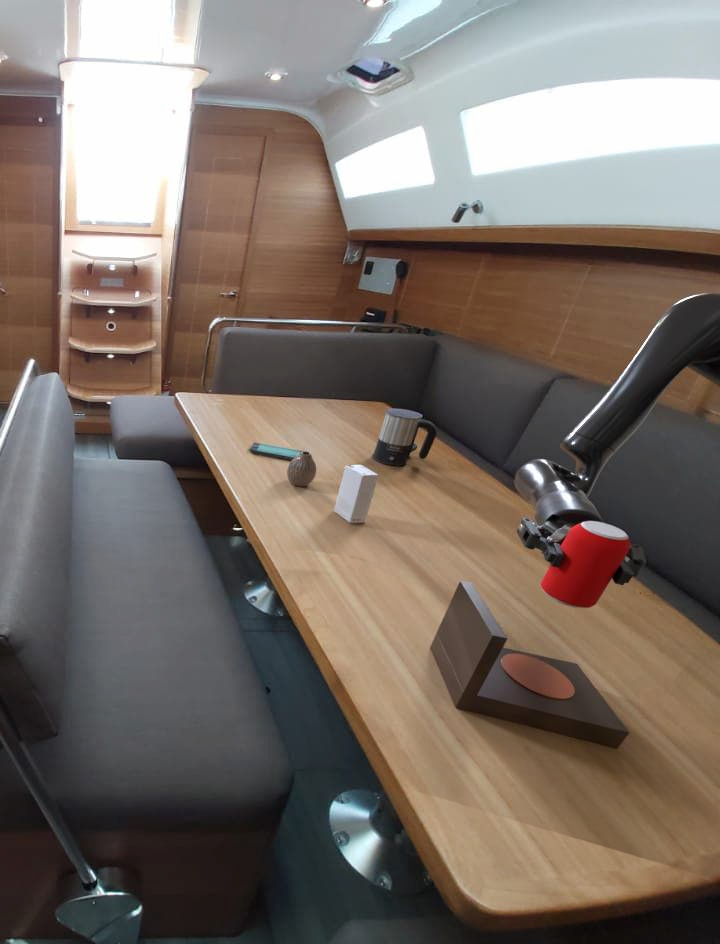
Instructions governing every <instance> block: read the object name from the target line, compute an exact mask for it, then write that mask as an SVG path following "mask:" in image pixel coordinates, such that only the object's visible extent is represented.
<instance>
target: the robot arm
mask: <svg viewBox="0 0 720 944" xmlns="http://www.w3.org/2000/svg"><path fill="white" fill-rule="evenodd" d="M686 367H687V368H688V369H690V370H692V371H693V372H695V373H697V374H698V375H699V376H701V377H703V378H705V379H706V380H708V381H710V382H711V383H713V384H714V385H716V386H717V387H719V388H720V293H719V292H705V293H700V294H694V295H692V296H689V297H685V298H683V299H681V300H679V301H678V302H676V303H674V304H673V305H671V306H670V307H669V308H667V309H666V310H665V311H664V312H663V313H662V315H661V316H660V318H658V321H657V322H656V323H655V325H654V326H653V328H652V329H651V330H650V332H649V334H648V335H647V337H646V339H645V340H644V342H643V343H642V345H641V346H640V348H639V349H638V350H637V352H636V353H635V355H634V356H633V358H632V359H631V360H630V361H629V363H628V364H627V366H626V367H625V368H624V370H623V371H622V372H621V373H620V375H619V376H618V377H617V378H616V380H615V381H614V382H613V383H612V385H611V386H610V387H609V388H608V389H607V390H606V391H605V393H604V394H603V395H602V396H601V397H600V398H599V399H598V401H596V403H595V404H594V405H593V406H592V407H591V408H590V409H589V410H588V411H587V412H586V414H585V415H583V417H582V418H581V419H580V420H579V421H578V422H577V423H576V424H575V425H574V426H573V427H572V428H571V429H570V431H569V432H568V433H567V434H566V435H565V436H564V437H563V438H562V440H561V441H560V443H559V447H560V449H561V450H562V452H564V453H565V454H566V455H568V456H569V457H571V458H572V459H573V460H574V462H575V468H574V471H572V470H569V469H568V468H566V467H564V466H562V465H559V464H558V463H556V462H554V461H551V460H549V459H545V458H536V459H532V460H531V459H530V460H529V461H526V462H525V463H523V464H522V465H521V466H520V467H519V468H518V469H517V471H516V473H515V475H514V480H513V481H514V486H515V489H516V490H517V492H518V493H519V494H520V495H521V496H522V498H524V499H525V500H526V501H527V503H529V504H530V505H531V506H532V508H533V511H534V521H535V522H536V523H535V522H534V521H533V520H532V519H530V518H529V517H522V519H520V522H519V523H518V526H517V529H516V530H515V531H516V534H517V535H518V538H519V539H520V541H521V542H522V544H523V546H524V547H525V548H526V549H529V550H535V549H538V550H539V553H541V554H542V556H543V558H544V561H546V562H547V563H549V566H550V565H551V566H553V567H557V568H558V567H559V565H560V563H561V561H562V560H563V558H564V553H563V551H562V549H561V545H562V543H563V541H564V539H565V538H566V536H567V534H568V532H569V530H570V529H571V528H572V527H574V526H575V525H577V524H579V523H581V522H584V521H596V522H601V523H605V521H604V520H603V518H602V517H601V514H600V513H599V511H598V509H597V508H596V506H595V505H594V504H593V502H592V501H591V500H589V496H590V494H591V492H592V490H593V488H594V486H595V484H596V481H597V480H598V478H599V475H600V474H601V472H602V470H603V469H604V467H605V465H606V464H607V462H608V461H609V459H610V458H611V457H612V456H613V455H614V454H615V453H616V452H617V451H618V450H619V449H620V448H621V447H622V446H623V445H624V444H625V443H626V442H627V441H628V440H629V439H630V438H631V437H632V436H633V434H635V432H636V431H637V430H638V429H639V428H640V426H641V425H642V424H643V422H644V421H645V420H646V419H647V417H648V415H650V412H651V411H652V410H653V408H654V406H655V405H656V403H658V400H659V399H660V397H661V396H662V395H663V394H664V392H665V391H666V389H668V387H669V386H670V385H671V383H672V382H673V381H674V380H675V379H676V378H677V377H678V375H680V373H681V372H682V371H683V370H684V369H685V368H686ZM646 564H647V559H646V556H645V553H644V549H643V547H642V545H639V544H637V543H630V550H629V552H628V553H627V555H626V556H625V558H624V560H623V561H622V563H621V564H620V566H619V568H618V569H617V571H616V573H615V574H614V576H613V577H612V579H611V580H612V581H613V583H614V584H616V585H619V586H624V585H625V584H629V583H630V581H631V579H632V578H633V577H634V578H637V577H638V575H639V574H640V572H641V571H642V569H643V567H644V566H645V565H646Z"/></svg>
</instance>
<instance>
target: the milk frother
mask: <svg viewBox="0 0 720 944" xmlns="http://www.w3.org/2000/svg"><path fill="white" fill-rule="evenodd" d="M384 414H385V416H384V420H383V423H382V426H381V428H380V429H381V430H380V433H379V436H378V440H377V443H376V445H375V449H374V451H373V453H372V455H371V457H372V459H373V460H375V461H376V462H379V463H381V464H385V465H389V466H397V467H398V466H400V467H401V466H405V465H407V464H408V459H409V458H410V456H411V453H413V452H415V451H416V450H417V449H418V444H416V443H415V441H416V437H417V434H418V431H419V428H422V429H425V430H426V431H427V433H426V435H425V438H424V440H423V442H422V445H421V447H420V450H419V452H418V458H420V459H422V460H425V459H426V458H427V457H428V454H429V452H430V451H431V449H432V446H433V444H434V442H435V440H436V438H437V435H438V434H437V433H438V430H437V427H436V425H435V424H434V422H432V421H430V420H426V419H421V418H423V414H421V413H419V412H417V411H413V410H410V409H404V408H387V409H385V410H384Z"/></svg>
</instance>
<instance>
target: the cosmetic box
mask: <svg viewBox="0 0 720 944" xmlns="http://www.w3.org/2000/svg"><path fill="white" fill-rule="evenodd" d="M378 480H379V474H378V473H376V472H374V471H373V470H370V468H367V467H366V466H364V465H362V464H350V465H349V464H348V465H345V466H344V470H343V474H342V477H341V481H340V486H339V490H338V493H337V497H336V501H335V506H334V509H333V511H334V512H335V513H336V514H337V515H338V516H339V517H341V518H342V519H344V520H345V521H347V522H348V523H349V524H361V523H366V520H367V517H368V513H369V510H370V507H371V503H372V500H373V496H374V493H375V489H376V486H377V483H378Z"/></svg>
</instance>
